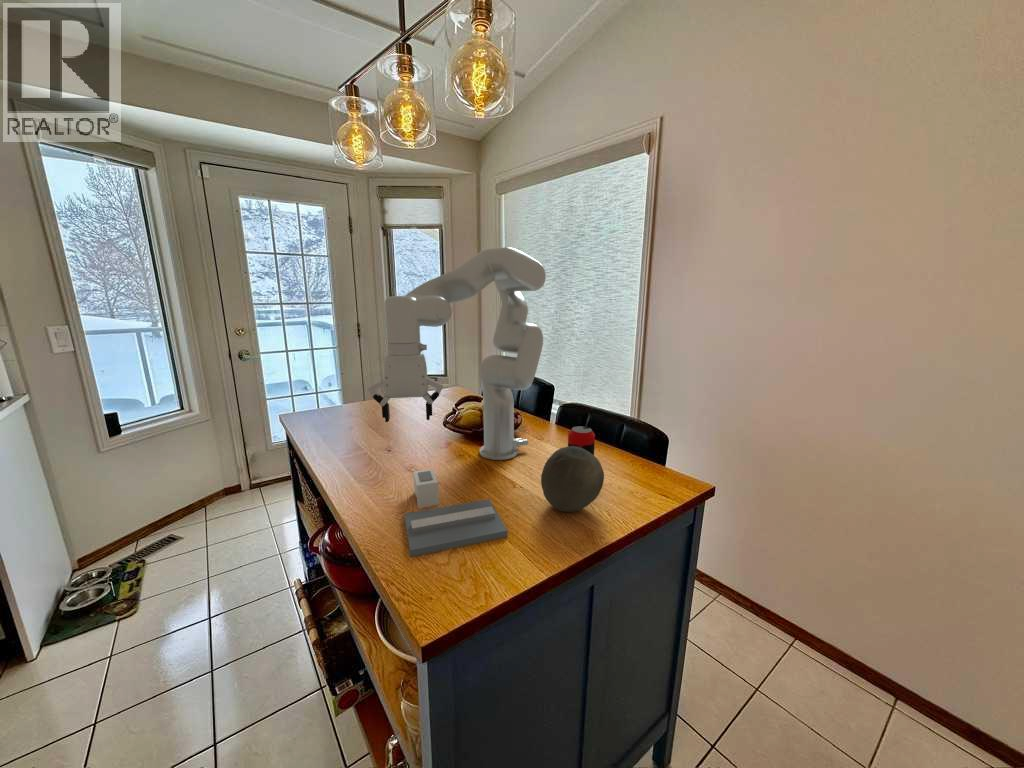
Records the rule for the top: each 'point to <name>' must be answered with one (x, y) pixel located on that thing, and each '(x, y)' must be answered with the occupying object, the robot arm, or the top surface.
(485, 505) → the board
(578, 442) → the soda can
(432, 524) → the steel rail
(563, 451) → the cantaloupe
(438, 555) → the top surface
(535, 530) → the top surface
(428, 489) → the module
